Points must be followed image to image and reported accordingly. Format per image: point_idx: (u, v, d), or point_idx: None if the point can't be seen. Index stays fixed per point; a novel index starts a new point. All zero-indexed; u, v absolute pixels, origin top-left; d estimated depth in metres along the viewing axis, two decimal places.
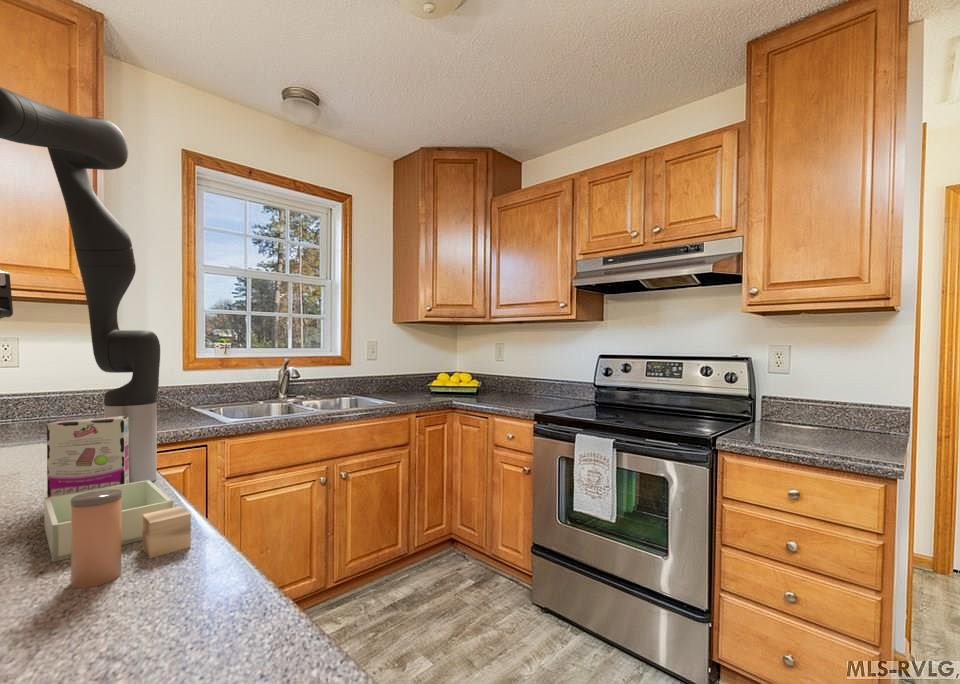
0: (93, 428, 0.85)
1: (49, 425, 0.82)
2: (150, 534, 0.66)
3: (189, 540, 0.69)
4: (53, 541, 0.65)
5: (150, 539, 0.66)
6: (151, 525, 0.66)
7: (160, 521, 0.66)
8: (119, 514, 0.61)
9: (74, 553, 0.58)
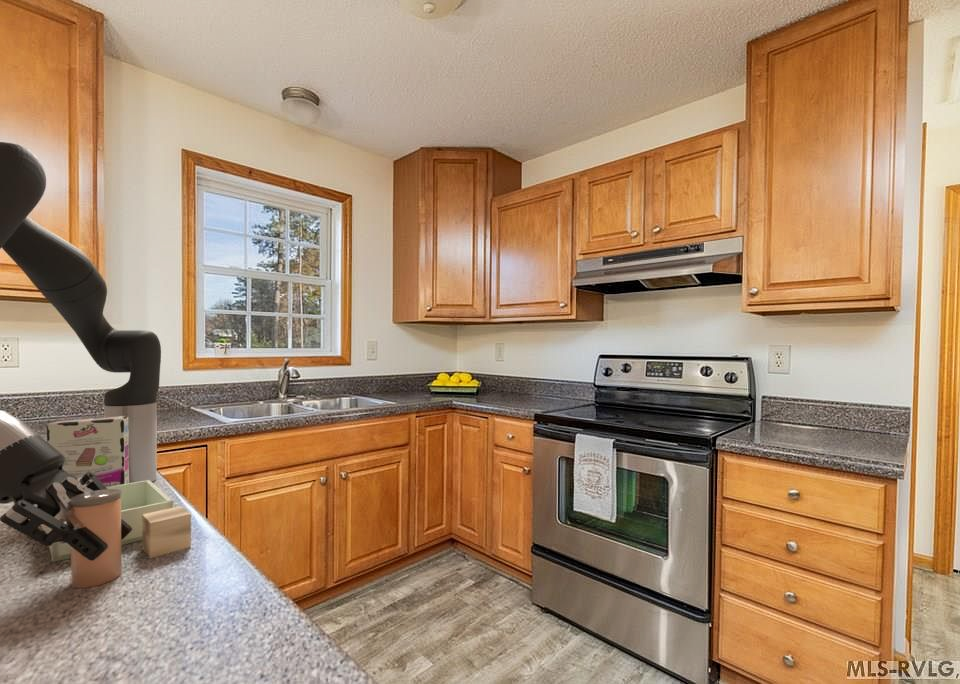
0: (93, 428, 0.85)
1: (49, 425, 0.82)
2: (150, 534, 0.66)
3: (189, 540, 0.69)
4: None
5: (150, 539, 0.66)
6: (151, 525, 0.66)
7: (160, 521, 0.67)
8: (118, 514, 0.61)
9: (74, 553, 0.58)
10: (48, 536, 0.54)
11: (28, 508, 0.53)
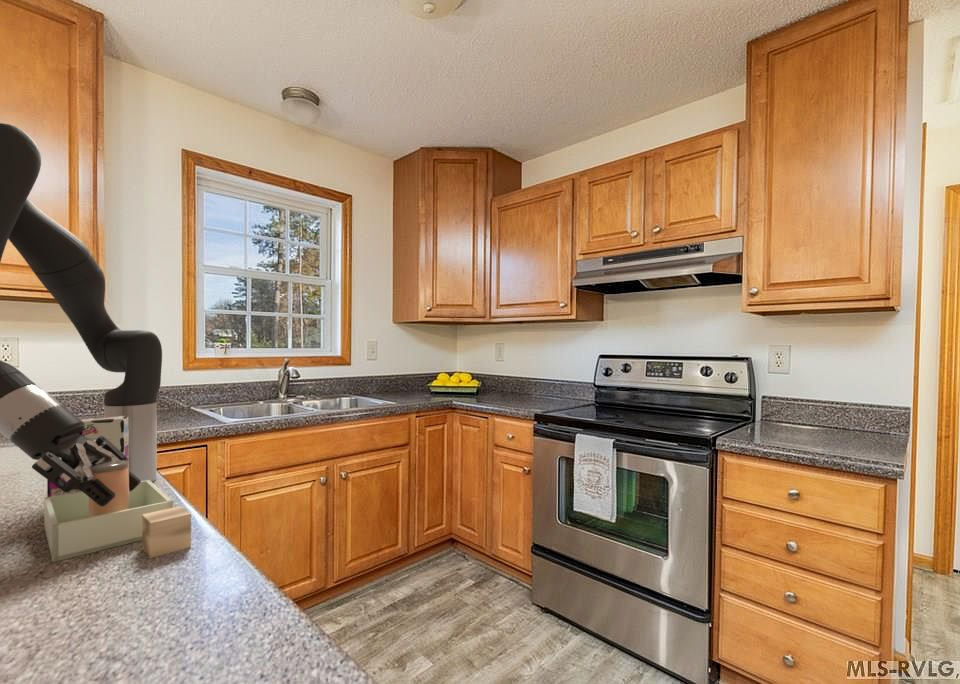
0: (93, 428, 0.85)
1: None
2: (150, 534, 0.66)
3: (189, 540, 0.69)
4: (53, 541, 0.65)
5: (150, 539, 0.66)
6: (151, 525, 0.66)
7: (160, 521, 0.67)
8: (127, 480, 0.74)
9: (91, 511, 0.71)
10: (67, 484, 0.66)
11: (53, 459, 0.66)
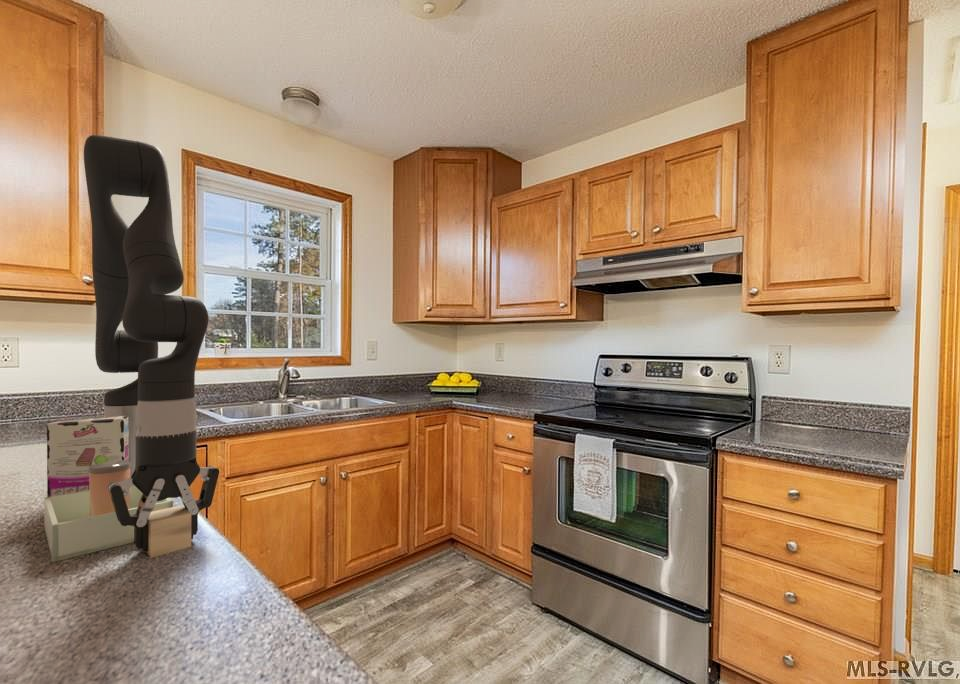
0: (93, 428, 0.85)
1: (49, 425, 0.82)
2: (151, 533, 0.66)
3: (190, 539, 0.69)
4: (53, 541, 0.65)
5: (151, 538, 0.66)
6: (152, 524, 0.66)
7: (160, 520, 0.67)
8: None
9: (92, 511, 0.71)
10: None
11: None
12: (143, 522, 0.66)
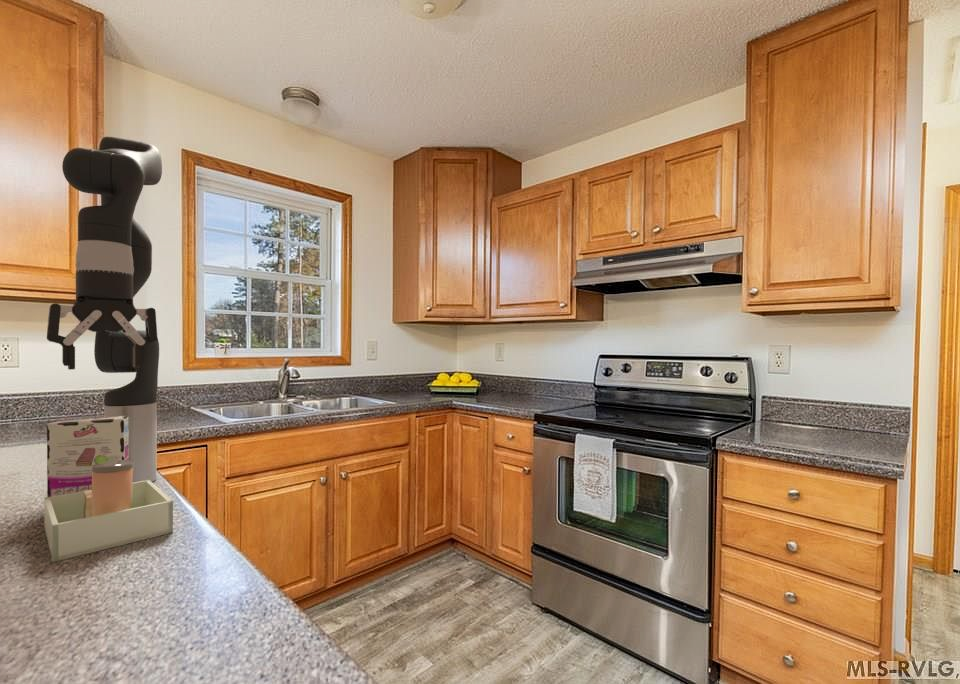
0: (93, 428, 0.85)
1: (49, 425, 0.82)
2: (87, 507, 0.75)
3: None
4: (53, 541, 0.65)
5: (87, 512, 0.75)
6: (88, 500, 0.75)
7: None
8: (132, 479, 0.74)
9: (97, 510, 0.71)
10: None
11: None
12: (69, 342, 0.74)
